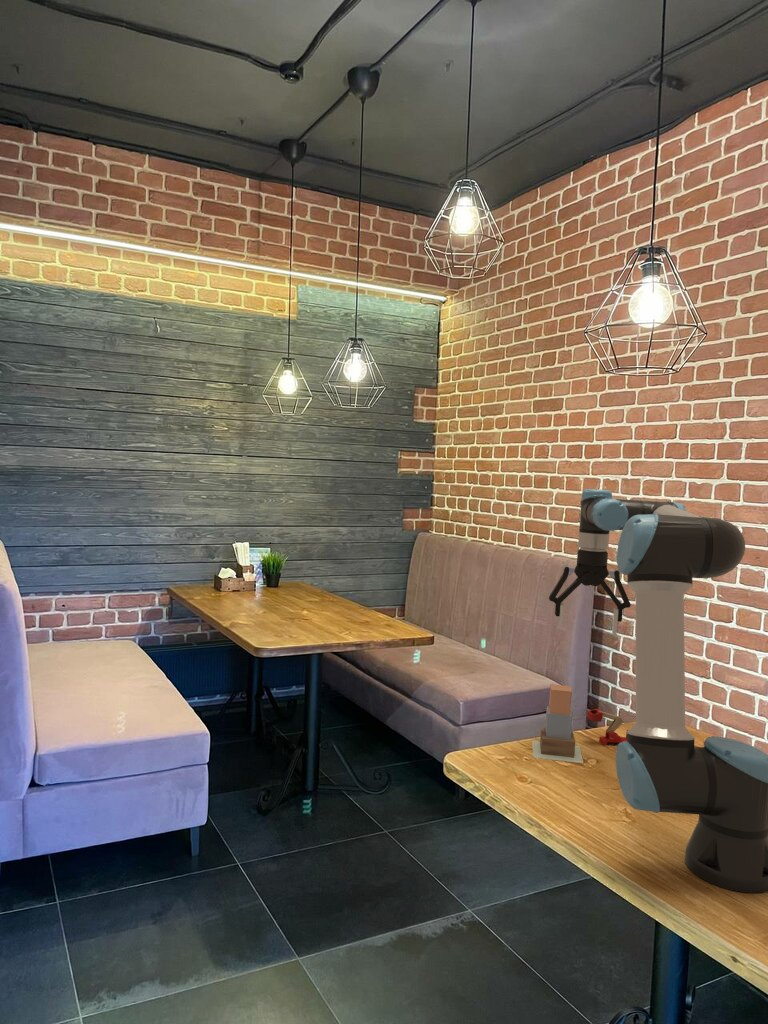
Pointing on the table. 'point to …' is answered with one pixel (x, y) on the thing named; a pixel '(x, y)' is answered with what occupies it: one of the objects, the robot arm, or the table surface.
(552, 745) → the walnut base
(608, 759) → the table surface
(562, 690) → the terracotta brick
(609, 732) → the toy fire truck
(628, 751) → the robot arm
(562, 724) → the slate brick
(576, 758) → the plate
